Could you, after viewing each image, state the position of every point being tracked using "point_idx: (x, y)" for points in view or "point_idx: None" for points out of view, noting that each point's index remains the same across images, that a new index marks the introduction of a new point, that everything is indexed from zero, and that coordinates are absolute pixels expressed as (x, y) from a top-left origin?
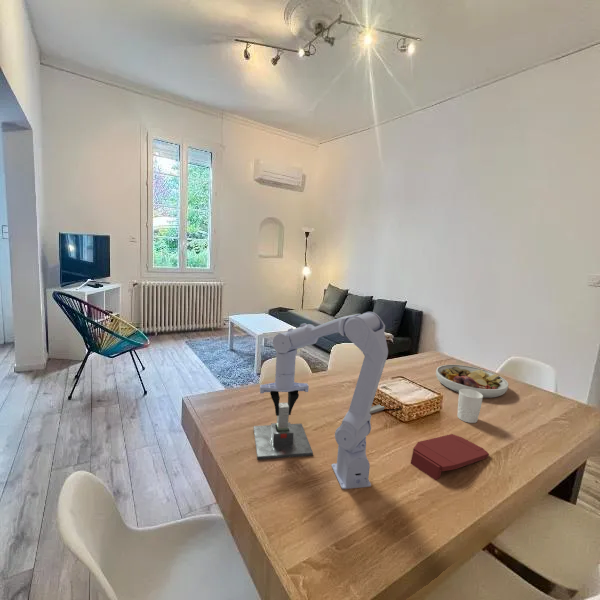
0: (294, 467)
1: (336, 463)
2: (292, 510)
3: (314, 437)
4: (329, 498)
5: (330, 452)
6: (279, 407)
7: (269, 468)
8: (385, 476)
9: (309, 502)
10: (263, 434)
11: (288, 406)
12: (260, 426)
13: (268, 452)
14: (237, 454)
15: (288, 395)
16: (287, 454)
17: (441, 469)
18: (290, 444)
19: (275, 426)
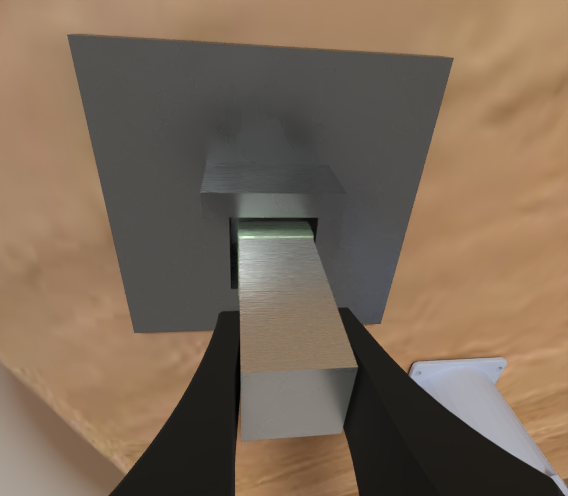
0: None
1: (433, 365)
2: (240, 467)
3: (452, 193)
4: (342, 445)
5: (454, 300)
6: (244, 438)
7: (189, 361)
8: (533, 396)
9: (288, 452)
10: (157, 167)
11: (339, 425)
12: (128, 51)
13: (185, 313)
14: (32, 284)
15: (397, 465)
16: None
17: None
18: None
19: (229, 235)
